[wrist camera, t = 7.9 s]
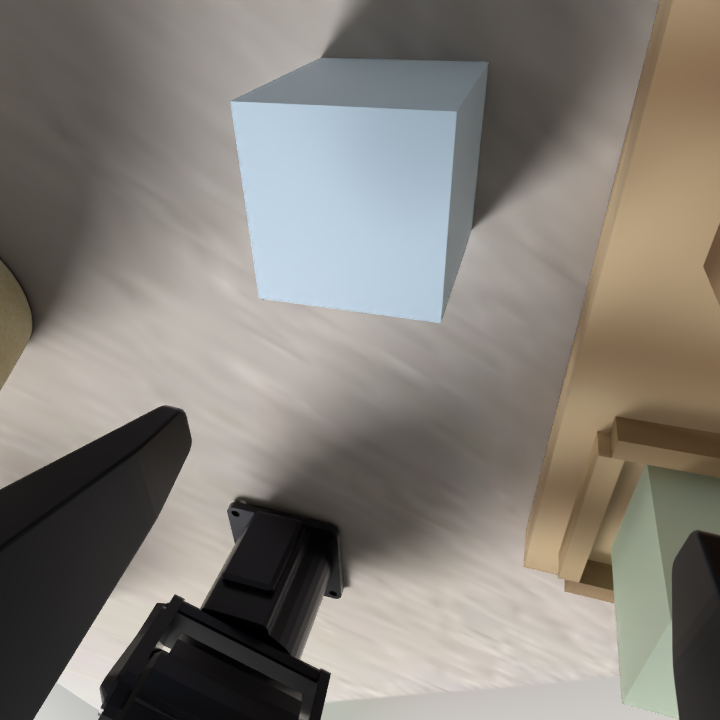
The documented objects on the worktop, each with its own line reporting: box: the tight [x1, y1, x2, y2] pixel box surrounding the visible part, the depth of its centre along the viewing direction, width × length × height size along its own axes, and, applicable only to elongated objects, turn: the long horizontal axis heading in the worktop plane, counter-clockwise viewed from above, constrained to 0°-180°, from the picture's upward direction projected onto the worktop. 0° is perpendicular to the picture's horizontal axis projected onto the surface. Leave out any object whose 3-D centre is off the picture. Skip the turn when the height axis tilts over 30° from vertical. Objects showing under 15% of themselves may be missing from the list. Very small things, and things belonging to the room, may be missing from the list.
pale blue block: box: [230, 58, 489, 323], centre depth 16 cm, size 5×5×6 cm
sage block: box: [611, 464, 720, 719], centre depth 18 cm, size 5×5×6 cm
